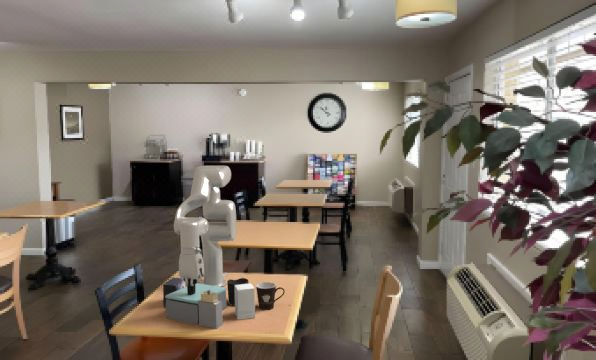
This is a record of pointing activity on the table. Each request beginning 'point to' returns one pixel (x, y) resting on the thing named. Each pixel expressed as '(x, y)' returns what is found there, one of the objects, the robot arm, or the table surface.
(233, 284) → the pen holder
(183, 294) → the lid
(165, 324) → the table surface
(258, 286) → the coffee mug
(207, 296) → the latch bolt
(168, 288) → the small box
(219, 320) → the storage box
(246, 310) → the supplement box
